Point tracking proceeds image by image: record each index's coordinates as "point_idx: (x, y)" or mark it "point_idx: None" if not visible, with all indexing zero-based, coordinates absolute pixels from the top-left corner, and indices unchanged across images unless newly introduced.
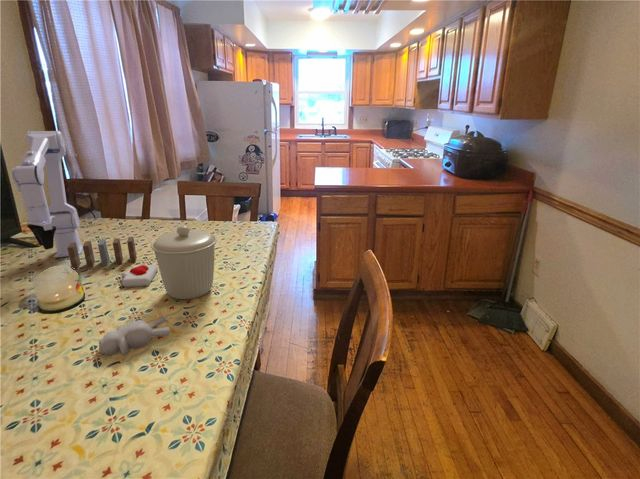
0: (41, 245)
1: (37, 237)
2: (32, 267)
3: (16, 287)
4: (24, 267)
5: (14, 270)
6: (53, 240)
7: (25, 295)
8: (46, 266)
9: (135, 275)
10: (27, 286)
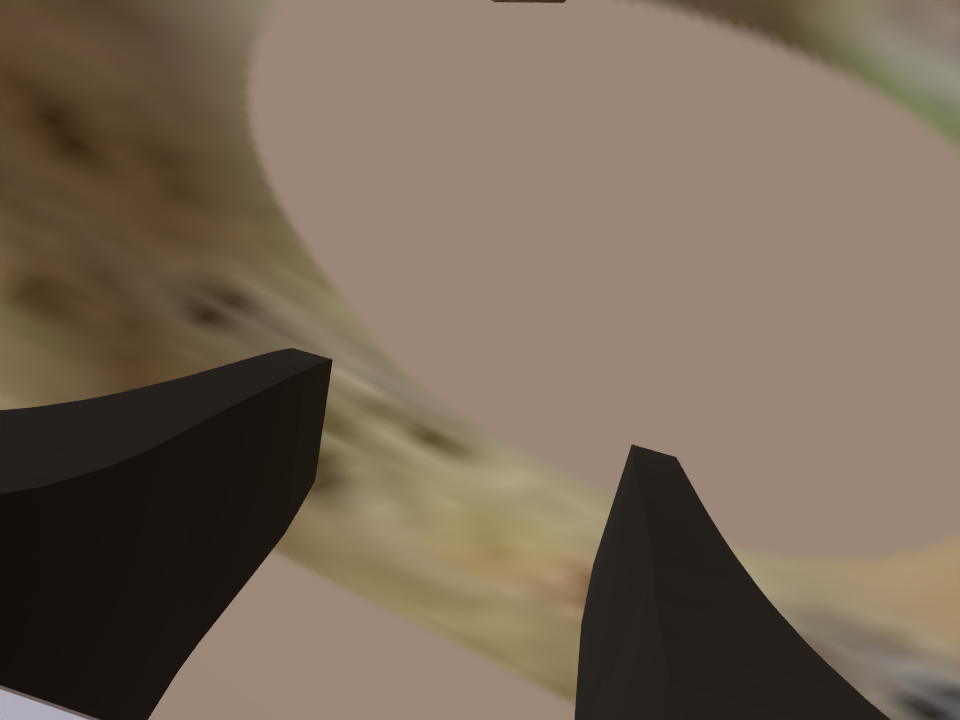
0: (314, 468)
1: (205, 611)
2: (78, 223)
3: (486, 582)
4: (16, 265)
5: (30, 358)
6: (721, 538)
7: None
8: (168, 122)
9: None
10: (561, 533)
